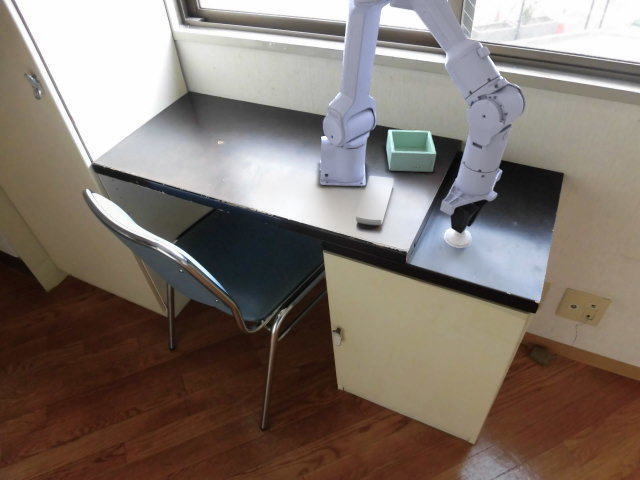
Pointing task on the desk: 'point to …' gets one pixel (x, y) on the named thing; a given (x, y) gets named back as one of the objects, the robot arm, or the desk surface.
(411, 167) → the open storage box
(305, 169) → the desk surface
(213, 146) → the desk surface
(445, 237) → the chess piece
